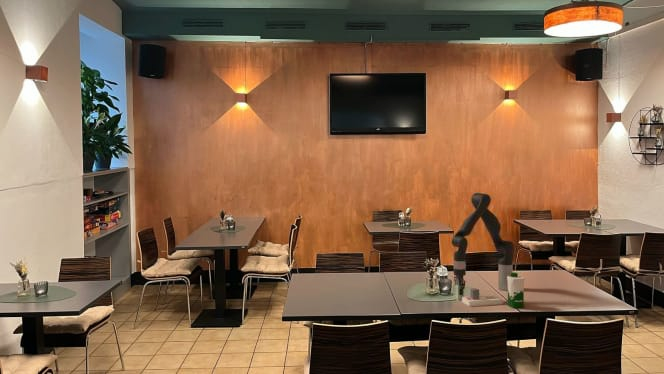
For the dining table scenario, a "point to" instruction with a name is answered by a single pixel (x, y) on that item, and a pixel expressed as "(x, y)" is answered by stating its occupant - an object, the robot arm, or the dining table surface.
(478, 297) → the white plate with window
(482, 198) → the robot arm
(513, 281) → the milk carton
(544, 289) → the dining table surface
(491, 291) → the dining table surface
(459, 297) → the green plug
